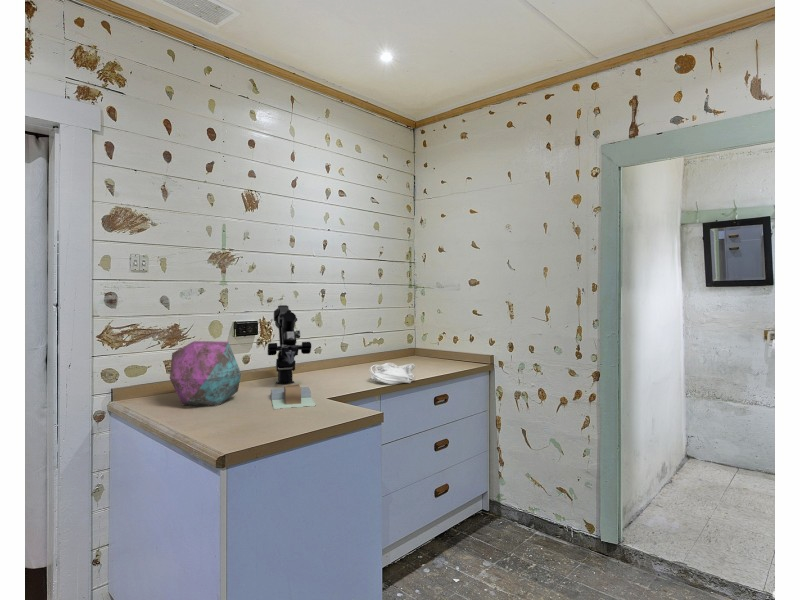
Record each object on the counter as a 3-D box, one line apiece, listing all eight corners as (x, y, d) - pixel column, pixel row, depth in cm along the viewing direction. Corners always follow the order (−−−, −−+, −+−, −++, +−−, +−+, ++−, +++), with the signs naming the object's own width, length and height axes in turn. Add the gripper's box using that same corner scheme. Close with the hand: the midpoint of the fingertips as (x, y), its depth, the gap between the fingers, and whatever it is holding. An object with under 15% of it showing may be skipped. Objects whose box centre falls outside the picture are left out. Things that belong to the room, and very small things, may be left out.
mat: (271, 401, 197) (271, 400, 197) (311, 398, 202) (311, 397, 202) (273, 409, 184) (273, 408, 184) (315, 406, 189) (315, 405, 189)
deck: (270, 396, 206) (270, 389, 206) (308, 393, 211) (308, 386, 211) (271, 400, 198) (271, 393, 198) (310, 398, 203) (310, 391, 203)
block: (284, 385, 198) (285, 389, 189) (298, 384, 200) (301, 388, 191) (284, 399, 198) (285, 404, 189) (299, 398, 200) (301, 403, 191)
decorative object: (137, 399, 185) (174, 347, 209) (206, 436, 195) (233, 382, 219) (169, 360, 170) (205, 308, 194) (242, 402, 180) (267, 348, 204)
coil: (398, 376, 256) (397, 358, 256) (427, 382, 237) (426, 363, 237) (358, 382, 241) (357, 363, 241) (385, 389, 222) (385, 368, 222)
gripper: (267, 324, 209) (269, 353, 199) (310, 323, 215) (314, 351, 205) (266, 340, 217) (268, 369, 207) (308, 339, 223) (311, 366, 213)
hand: (291, 363), depth 208 cm, fingers closed
